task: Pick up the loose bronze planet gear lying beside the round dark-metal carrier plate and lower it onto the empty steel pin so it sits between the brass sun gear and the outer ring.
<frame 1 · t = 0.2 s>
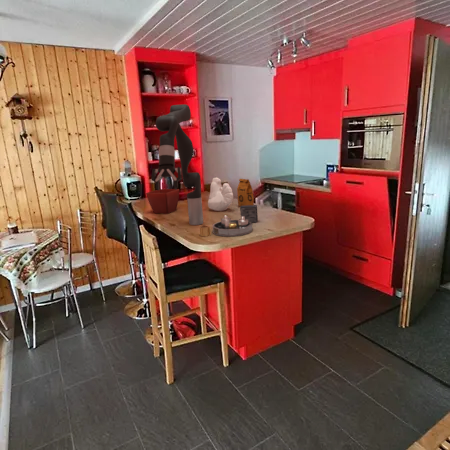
hand: (166, 189, 161), 31 cm above the worktop, tool tilted 20°, fingers open, 8 cm apart
decorative rooster: (221, 211, 258), on the worktop
coffee package: (246, 207, 266), on the worktop
plant pot: (165, 212, 267), on the worktop
planet gear: (205, 235, 194), on the worktop
carrier: (232, 231, 199), on the worktop
small box: (249, 222, 219), on the worktop
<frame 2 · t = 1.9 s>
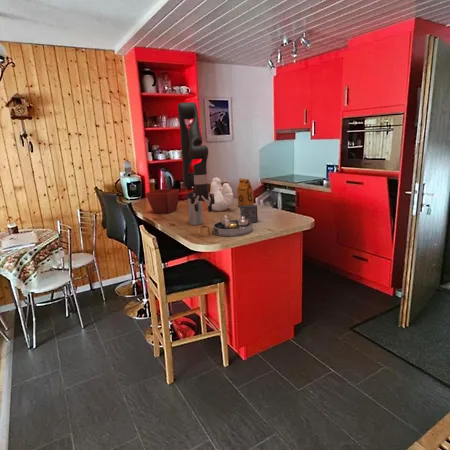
hand: (203, 211, 191), 14 cm above the worktop, tool pointing down, fingers open, 8 cm apart
nothing on the worktop moved.
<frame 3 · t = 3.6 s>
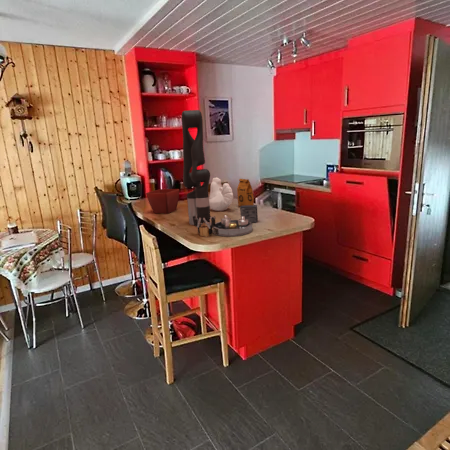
hand: (205, 233, 194), 1 cm above the worktop, tool pointing down, fingers closed on planet gear, 6 cm apart
planet gear: (205, 235, 194), on the worktop, touching gripper
everything else where it was.
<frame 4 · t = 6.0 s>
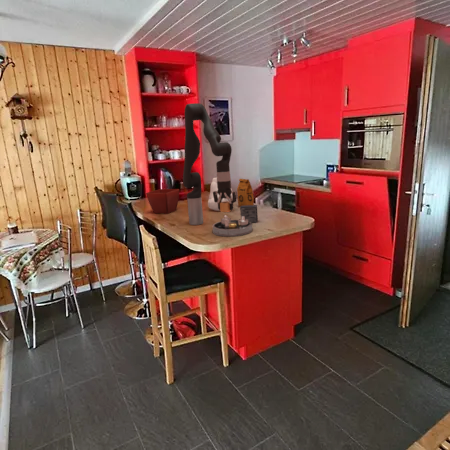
hand: (225, 209, 190), 14 cm above the worktop, tool pointing down, fingers closed on planet gear, 6 cm apart
planet gear: (225, 211, 190), point 13 cm above the worktop, touching gripper
everything else where it was.
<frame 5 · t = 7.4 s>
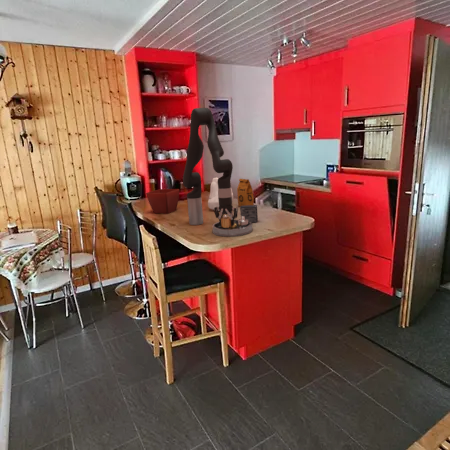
hand: (226, 225, 192), 5 cm above the worktop, tool pointing down, fingers closed on planet gear, 6 cm apart
planet gear: (227, 226, 192), point 4 cm above the worktop, touching gripper
everything else where it was.
when the fingers open (3 cm above the worktop, at t = 8.3 s): planet gear drops 1 cm, resting on carrier.
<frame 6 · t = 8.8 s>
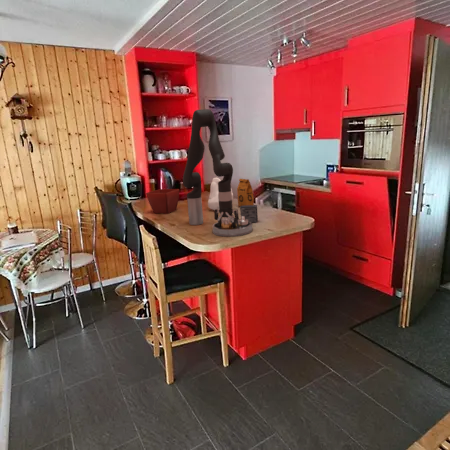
hand: (227, 227, 193), 4 cm above the worktop, tool pointing down, fingers open, 8 cm apart
planet gear: (227, 232, 193), point 1 cm above the worktop, touching carrier
everything else where it was.
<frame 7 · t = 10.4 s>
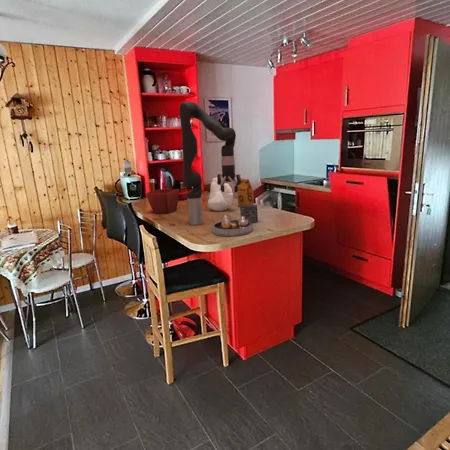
hand: (229, 192, 198), 22 cm above the worktop, tool pointing down, fingers open, 8 cm apart
nothing on the worktop moved.
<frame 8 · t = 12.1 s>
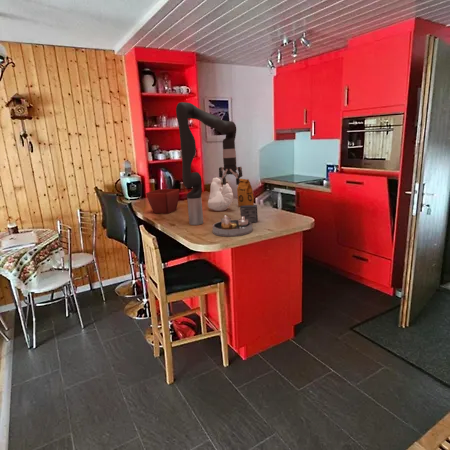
hand: (231, 184, 201), 26 cm above the worktop, tool pointing down, fingers open, 8 cm apart
nothing on the worktop moved.
at the end: planet gear 0.0 cm from the target spot on the carrier, point 1.2 cm above the carrier's base; planet gear tilted 0°; the gripper is holding nothing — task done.
